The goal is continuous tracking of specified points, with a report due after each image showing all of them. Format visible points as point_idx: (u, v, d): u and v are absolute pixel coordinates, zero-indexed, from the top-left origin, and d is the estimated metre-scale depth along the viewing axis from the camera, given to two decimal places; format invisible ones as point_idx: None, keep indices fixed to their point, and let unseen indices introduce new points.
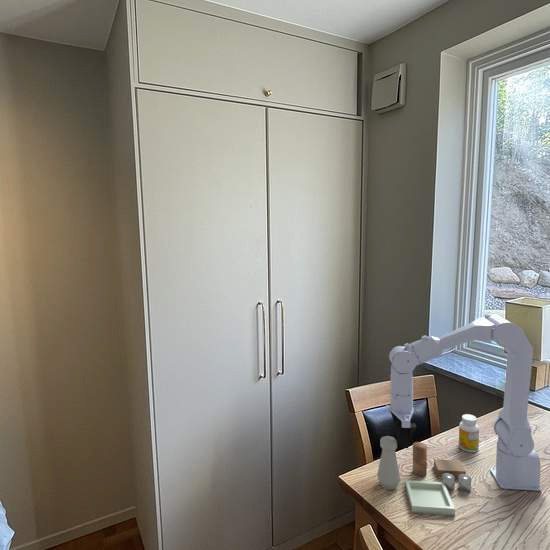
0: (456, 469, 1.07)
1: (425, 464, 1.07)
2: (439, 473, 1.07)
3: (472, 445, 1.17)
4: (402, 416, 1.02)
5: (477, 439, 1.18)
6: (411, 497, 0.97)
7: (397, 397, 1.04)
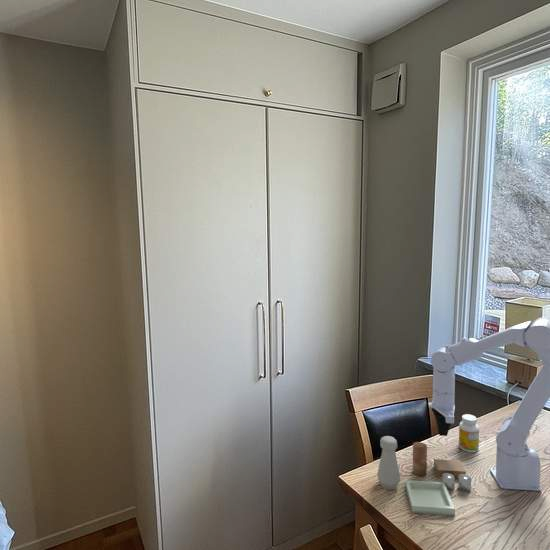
0: (456, 469, 1.07)
1: (425, 464, 1.07)
2: (439, 473, 1.07)
3: (472, 445, 1.17)
4: (445, 412, 1.09)
5: (477, 439, 1.18)
6: (411, 497, 0.97)
7: (440, 395, 1.11)
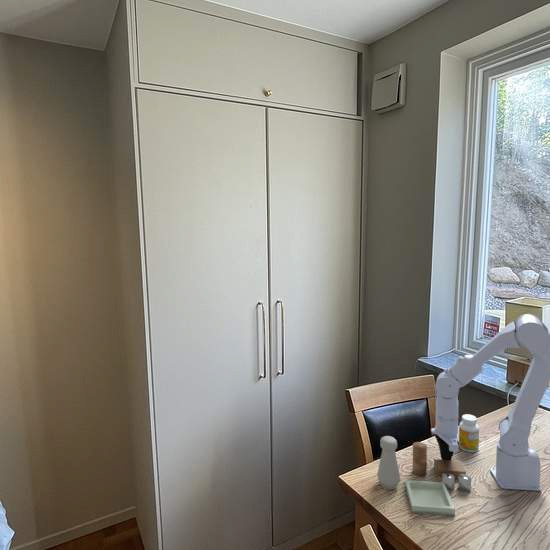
0: (456, 469, 1.07)
1: (425, 464, 1.07)
2: (439, 473, 1.07)
3: (472, 445, 1.17)
4: (449, 440, 1.06)
5: (477, 439, 1.18)
6: (411, 497, 0.97)
7: (443, 421, 1.08)
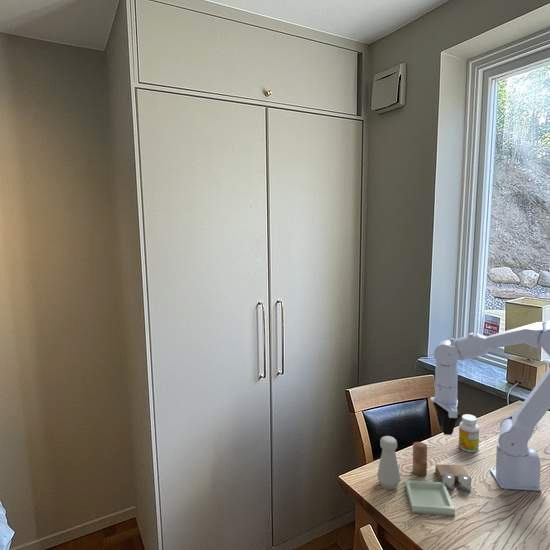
0: (459, 474, 1.05)
1: (425, 464, 1.08)
2: None
3: (472, 445, 1.17)
4: (448, 407, 1.06)
5: (477, 439, 1.18)
6: (411, 497, 0.97)
7: (443, 389, 1.08)
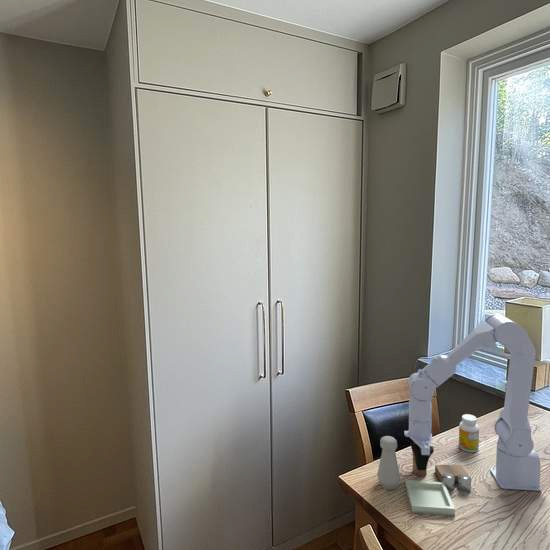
0: (459, 474, 1.05)
1: None
2: None
3: (472, 445, 1.17)
4: (421, 443, 1.03)
5: (477, 439, 1.18)
6: (411, 497, 0.97)
7: (416, 424, 1.05)
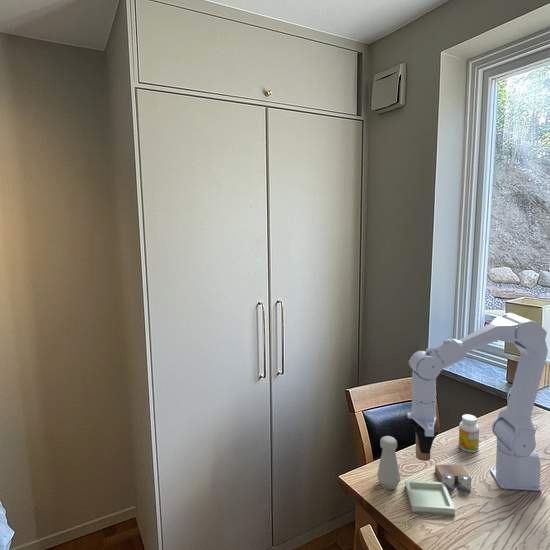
0: (459, 474, 1.05)
1: None
2: None
3: (472, 445, 1.17)
4: (425, 424, 0.98)
5: (477, 439, 1.18)
6: (411, 497, 0.97)
7: (419, 404, 1.00)
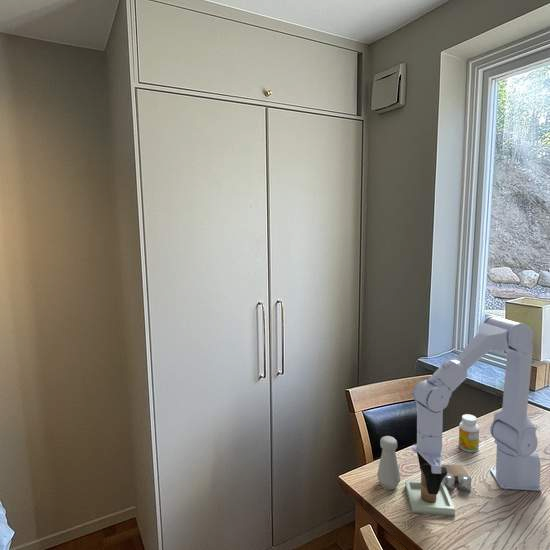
0: (459, 474, 1.05)
1: None
2: None
3: (472, 445, 1.17)
4: (431, 459, 0.92)
5: (477, 439, 1.18)
6: (411, 497, 0.97)
7: (425, 438, 0.94)
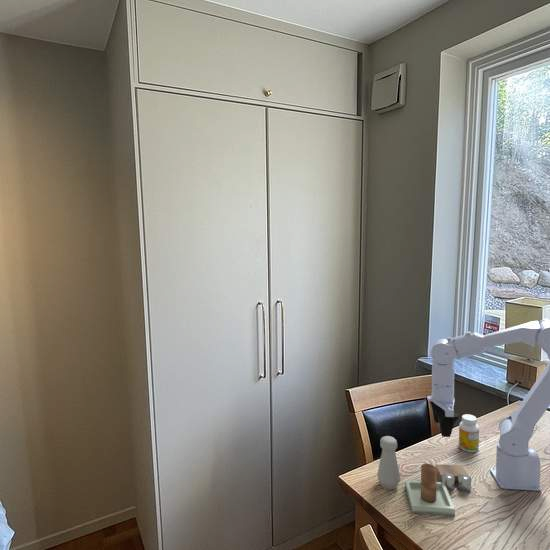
0: (459, 474, 1.05)
1: (435, 489, 0.97)
2: None
3: (472, 445, 1.17)
4: (445, 406, 1.06)
5: (477, 439, 1.18)
6: (411, 497, 0.97)
7: (439, 388, 1.08)
